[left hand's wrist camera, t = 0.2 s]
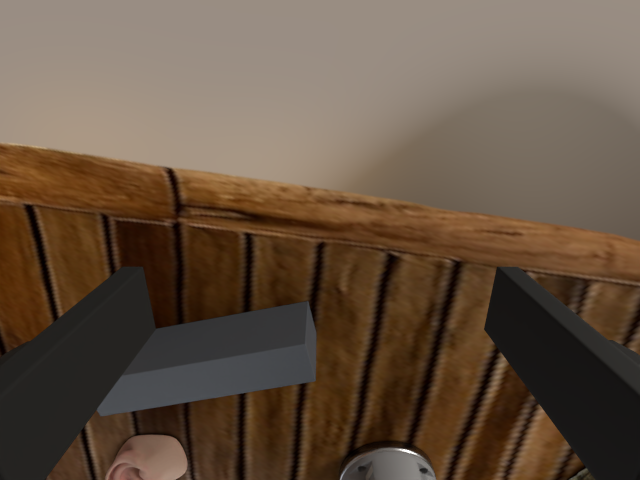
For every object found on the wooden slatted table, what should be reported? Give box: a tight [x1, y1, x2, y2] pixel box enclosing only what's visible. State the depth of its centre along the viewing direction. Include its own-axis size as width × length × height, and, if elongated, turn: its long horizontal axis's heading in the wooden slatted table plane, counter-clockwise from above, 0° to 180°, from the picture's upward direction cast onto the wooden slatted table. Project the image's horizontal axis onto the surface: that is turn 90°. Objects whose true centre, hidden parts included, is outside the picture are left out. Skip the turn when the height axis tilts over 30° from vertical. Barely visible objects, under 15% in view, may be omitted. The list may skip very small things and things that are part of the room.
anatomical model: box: [105, 435, 187, 480], centre depth 53 cm, size 13×4×12 cm
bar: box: [97, 301, 316, 416], centre depth 42 cm, size 26×5×9 cm, turn 102°
